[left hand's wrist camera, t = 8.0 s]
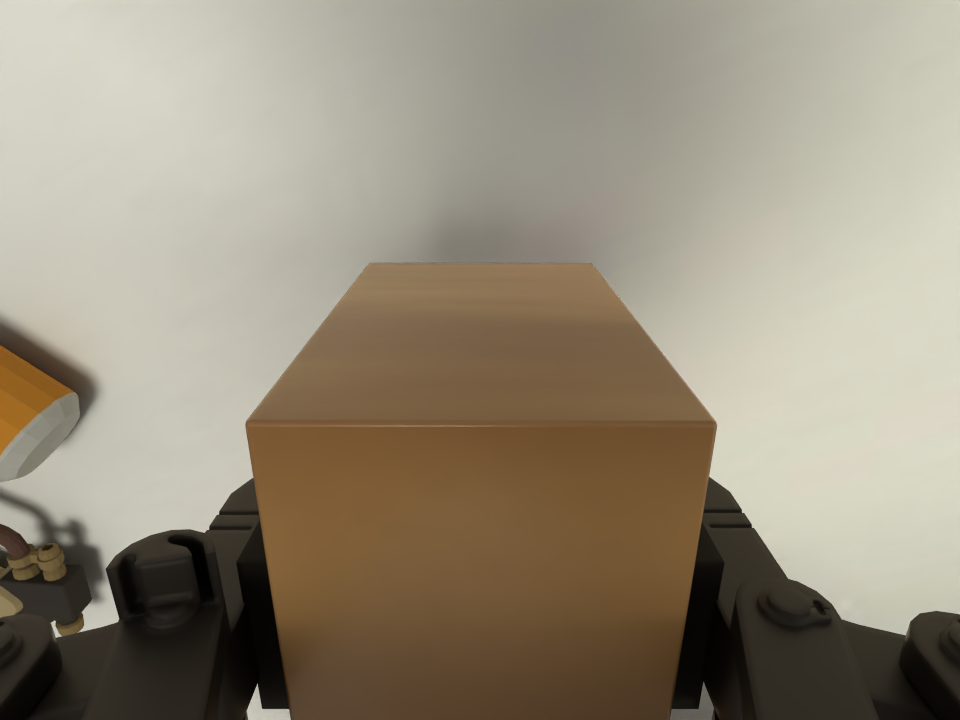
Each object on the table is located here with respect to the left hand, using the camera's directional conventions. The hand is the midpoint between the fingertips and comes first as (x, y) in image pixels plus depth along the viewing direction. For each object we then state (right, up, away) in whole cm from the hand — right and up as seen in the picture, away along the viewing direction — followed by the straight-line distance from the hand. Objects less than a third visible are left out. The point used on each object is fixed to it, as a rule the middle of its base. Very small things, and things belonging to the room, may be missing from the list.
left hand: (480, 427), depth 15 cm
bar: (0, -8, +4) cm, 9 cm away
